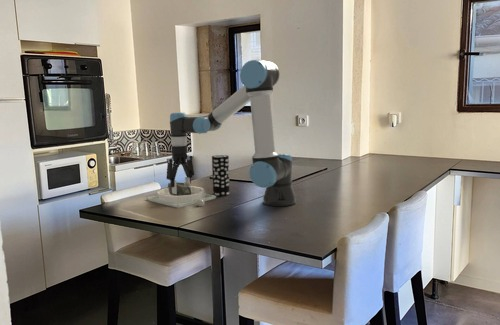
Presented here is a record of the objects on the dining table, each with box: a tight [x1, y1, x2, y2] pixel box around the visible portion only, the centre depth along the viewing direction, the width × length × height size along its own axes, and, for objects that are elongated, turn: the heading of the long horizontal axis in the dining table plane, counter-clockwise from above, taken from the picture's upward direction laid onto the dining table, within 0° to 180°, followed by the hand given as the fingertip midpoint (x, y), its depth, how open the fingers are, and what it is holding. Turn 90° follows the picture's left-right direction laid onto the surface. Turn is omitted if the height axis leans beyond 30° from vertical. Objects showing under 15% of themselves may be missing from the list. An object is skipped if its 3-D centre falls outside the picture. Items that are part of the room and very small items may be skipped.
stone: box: [167, 181, 191, 196], centre depth 223 cm, size 14×7×10 cm, turn 50°
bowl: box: [156, 185, 206, 205], centre depth 222 cm, size 22×22×4 cm
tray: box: [146, 193, 217, 209], centre depth 222 cm, size 24×23×2 cm
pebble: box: [196, 199, 206, 207], centre depth 209 cm, size 4×4×4 cm
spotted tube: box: [211, 154, 231, 197], centre depth 229 cm, size 8×8×20 cm
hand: (181, 191), depth 222 cm, fingers open, 8 cm apart
